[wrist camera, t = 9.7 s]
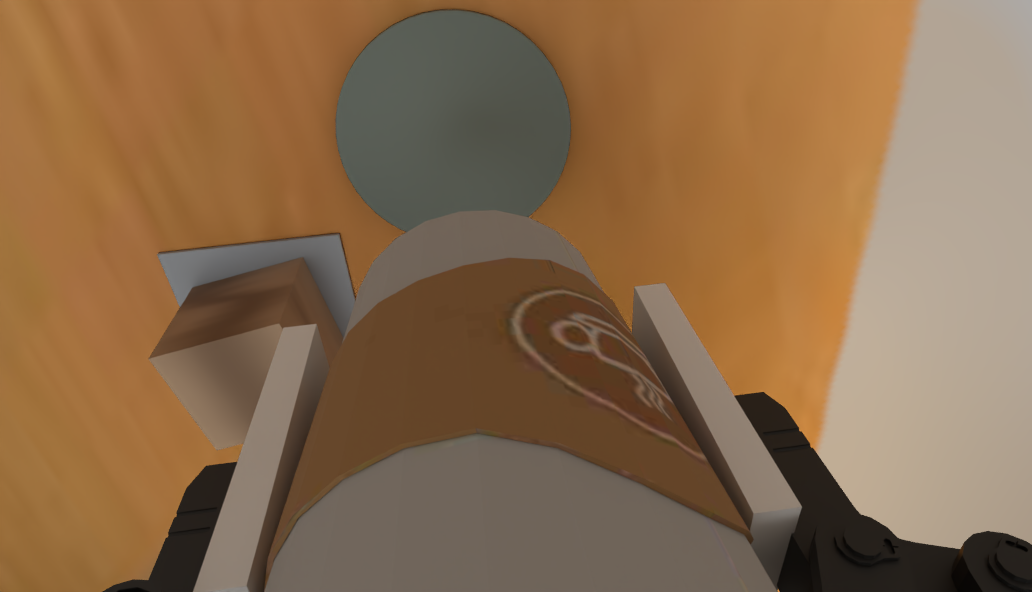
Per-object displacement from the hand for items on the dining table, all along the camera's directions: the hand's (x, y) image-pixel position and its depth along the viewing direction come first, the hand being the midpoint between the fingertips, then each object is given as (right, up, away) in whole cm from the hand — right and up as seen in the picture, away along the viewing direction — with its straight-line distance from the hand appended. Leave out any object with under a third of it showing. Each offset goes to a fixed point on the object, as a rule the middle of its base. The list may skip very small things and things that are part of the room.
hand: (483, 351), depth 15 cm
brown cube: (-12, 0, +18) cm, 22 cm away
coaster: (-2, +9, +14) cm, 17 cm away
